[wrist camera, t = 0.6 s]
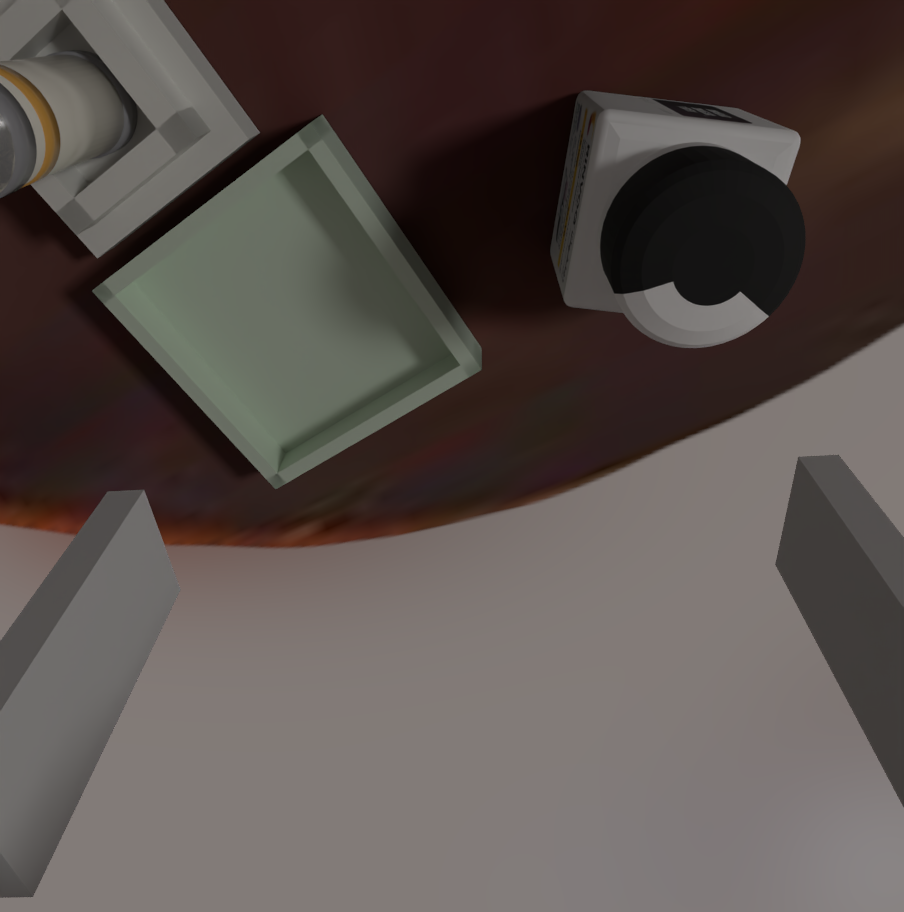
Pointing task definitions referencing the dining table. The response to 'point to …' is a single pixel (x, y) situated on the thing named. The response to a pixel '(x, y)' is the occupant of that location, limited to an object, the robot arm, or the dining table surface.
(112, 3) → the holder
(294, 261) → the tray
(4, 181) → the fuse
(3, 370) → the dining table surface
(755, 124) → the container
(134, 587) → the robot arm
